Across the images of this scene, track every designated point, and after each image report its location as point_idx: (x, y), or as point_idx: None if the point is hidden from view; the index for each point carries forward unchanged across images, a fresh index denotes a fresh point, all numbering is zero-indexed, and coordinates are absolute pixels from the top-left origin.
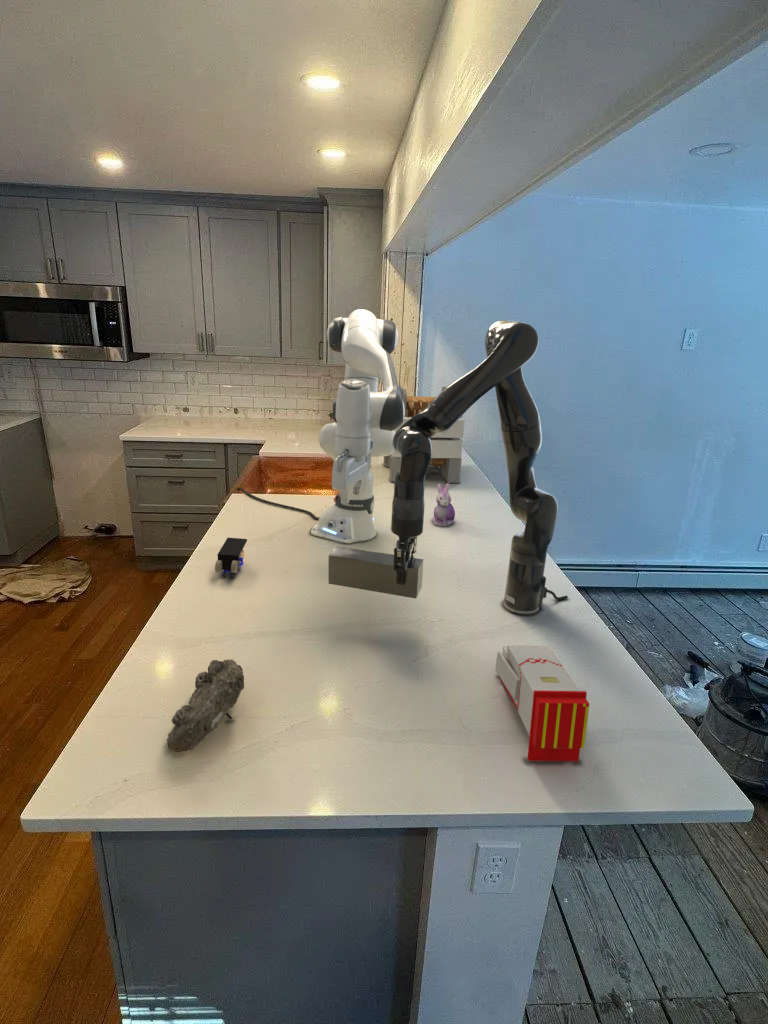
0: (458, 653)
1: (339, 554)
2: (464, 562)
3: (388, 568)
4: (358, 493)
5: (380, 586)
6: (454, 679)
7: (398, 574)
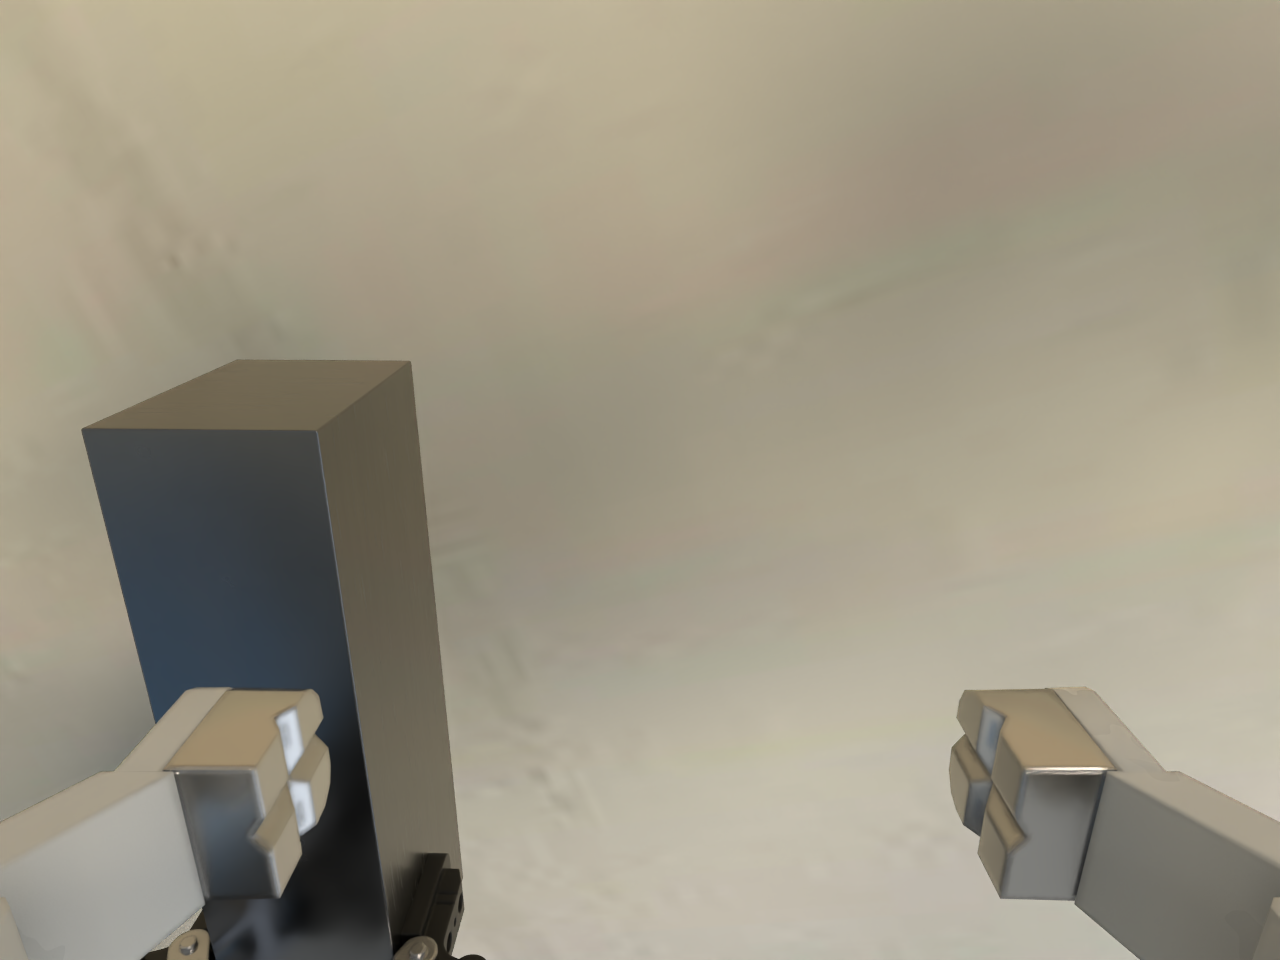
0: None
1: (153, 517)
2: None
3: None
4: (960, 799)
5: None
6: None
7: (201, 921)
